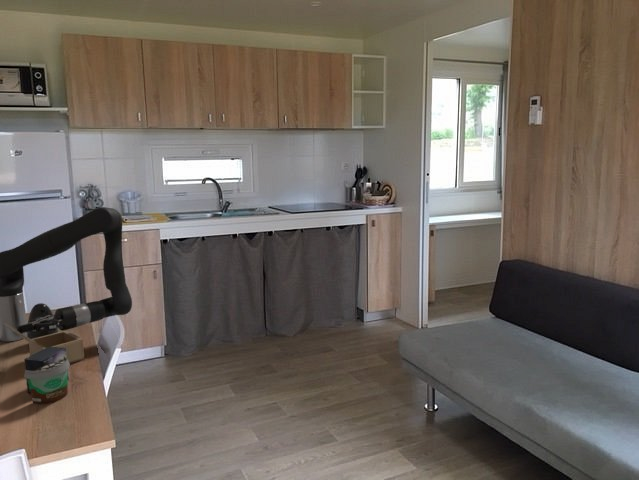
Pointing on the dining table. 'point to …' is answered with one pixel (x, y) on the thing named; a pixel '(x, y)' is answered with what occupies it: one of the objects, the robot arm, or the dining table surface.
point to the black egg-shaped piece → (42, 311)
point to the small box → (44, 359)
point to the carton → (60, 345)
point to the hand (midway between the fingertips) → (18, 330)
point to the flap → (21, 335)
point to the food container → (48, 382)
